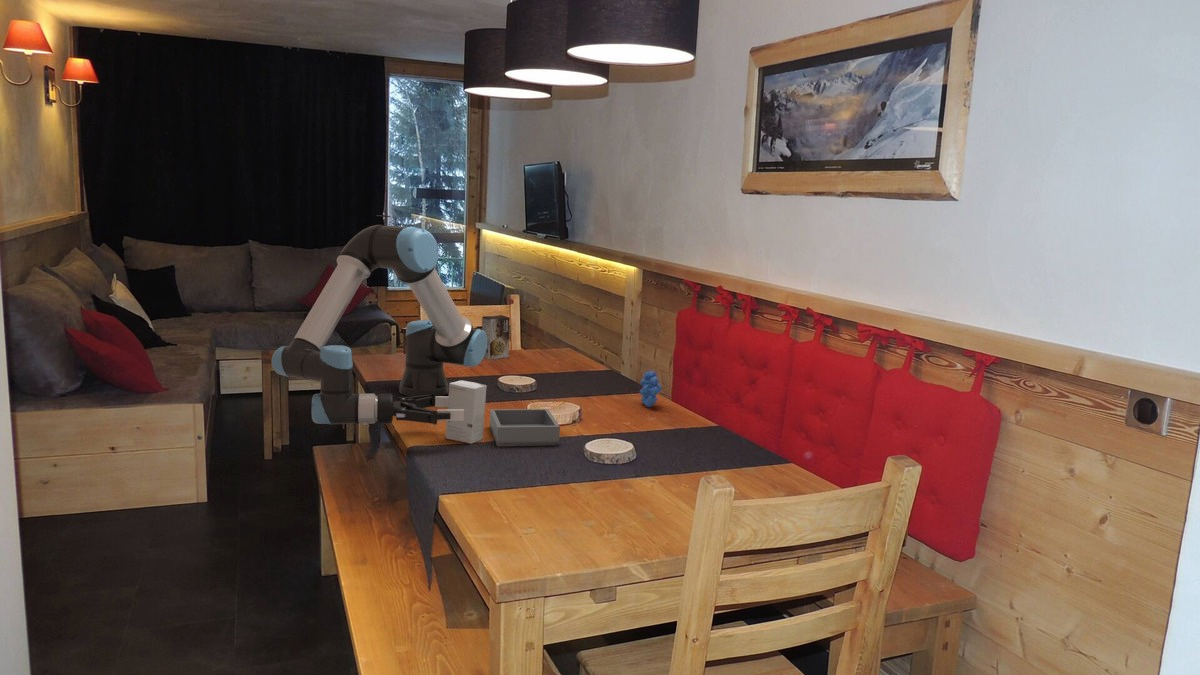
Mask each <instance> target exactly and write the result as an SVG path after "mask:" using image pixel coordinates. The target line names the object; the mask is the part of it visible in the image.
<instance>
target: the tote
mask: <svg viewBox="0 0 1200 675" xmlns="http://www.w3.org/2000/svg"><path fill="white" fill-rule="evenodd" d="M560 426H561V425H560V424H559V423H558V422H557V420H556V419H555V417H554V416H553V414H552V413H551V412H550V410H549V409H548V408H503V409H502V408H500V409H496V408H493V409H492V408H490V409H489V429H490V432H491V434H492V437H493V439H494V441H495V444H496V446H497V447H533V446H534V447H541V446H559V445H560V437H561V435H560V434H561V433H560V432H561V428H560Z"/></svg>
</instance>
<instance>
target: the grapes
mask: <svg viewBox="0 0 1200 675" xmlns="http://www.w3.org/2000/svg"><path fill="white" fill-rule="evenodd" d="M657 376H658V375H657V373H656V371H654V370H650V371H649V370H648V371H646V372H644V373H643V376H642V377H643V378H642V379H641V380H640V382H639V383H640V385H641V386H642V387H641V388H640V390H639V394H640V395H641V396H642V397H641V399H640V401H641V402H642V404H643V405H645V407H647V408H651V407H653V405H654V404H655V403H657V401H658V397H657V395H658V394H659V393H660V392H662V390H663V387H662V385H661V384H659V383H660V380H659V378H658V377H657Z"/></svg>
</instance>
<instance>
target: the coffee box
mask: <svg viewBox="0 0 1200 675" xmlns="http://www.w3.org/2000/svg"><path fill="white" fill-rule="evenodd" d="M510 319H511V318H510V317H508V316H506V315H502V314H500V315H496V314H495V315H486V316H482V319H481V320H482V321H481V323H482V324H481V330H483V331H484V332H485V333H486V336H487V349H486V353H485V356H484V357H485V359H487V360H497V359H504V358H505V359H507V358H509V357H510V321H511V320H510Z"/></svg>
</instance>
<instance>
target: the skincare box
mask: <svg viewBox="0 0 1200 675" xmlns="http://www.w3.org/2000/svg"><path fill="white" fill-rule="evenodd" d="M486 397H487V385H486V384H482V383H478V382H472V381H467V380H462V379H461V380H458V381H457V380H456V381H454V382H449V383H448V407H447V410H452V409H464V421H446V424H445V425H446V426H445V439H446V440H452V441H456V442H463V443H466V444H471V445H472V444H474V443H476V442H479V441H481V440H483V439H484V427H485V426H484V425H485V411H486V400H487V398H486Z"/></svg>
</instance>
